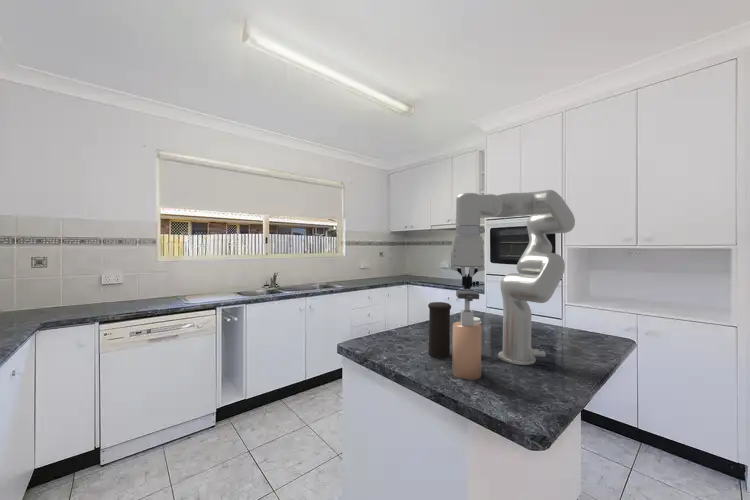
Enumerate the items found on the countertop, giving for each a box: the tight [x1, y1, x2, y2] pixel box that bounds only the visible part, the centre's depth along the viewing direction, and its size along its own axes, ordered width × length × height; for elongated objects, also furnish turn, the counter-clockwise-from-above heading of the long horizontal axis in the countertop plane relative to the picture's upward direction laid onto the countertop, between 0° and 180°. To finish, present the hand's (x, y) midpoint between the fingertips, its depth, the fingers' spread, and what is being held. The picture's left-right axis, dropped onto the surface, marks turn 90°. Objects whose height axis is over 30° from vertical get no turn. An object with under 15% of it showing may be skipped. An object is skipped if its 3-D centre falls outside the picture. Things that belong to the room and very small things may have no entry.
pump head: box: [455, 290, 480, 312], centre depth 101 cm, size 6×10×6 cm, turn 171°
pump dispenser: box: [451, 309, 483, 381], centre depth 103 cm, size 9×9×20 cm
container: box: [427, 301, 452, 359], centre depth 121 cm, size 9×9×20 cm
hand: (466, 288), depth 103 cm, fingers closed
